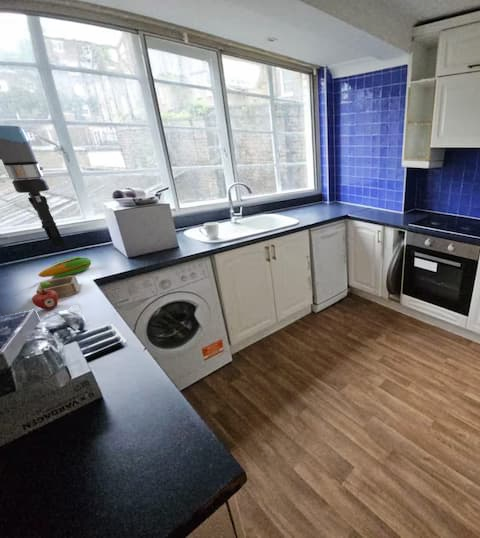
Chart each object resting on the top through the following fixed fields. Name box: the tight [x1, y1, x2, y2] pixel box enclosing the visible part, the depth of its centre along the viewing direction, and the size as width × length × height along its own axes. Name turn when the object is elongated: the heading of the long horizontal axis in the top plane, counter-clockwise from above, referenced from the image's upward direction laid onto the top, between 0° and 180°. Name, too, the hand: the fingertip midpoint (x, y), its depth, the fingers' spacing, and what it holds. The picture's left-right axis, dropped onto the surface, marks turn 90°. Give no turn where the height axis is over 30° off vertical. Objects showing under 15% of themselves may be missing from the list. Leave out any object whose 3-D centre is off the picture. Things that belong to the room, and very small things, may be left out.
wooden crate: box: [35, 274, 80, 299], centre depth 125 cm, size 11×11×5 cm
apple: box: [31, 281, 59, 311], centre depth 112 cm, size 8×7×10 cm
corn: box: [38, 256, 92, 279], centre depth 143 cm, size 7×8×20 cm
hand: (56, 241), depth 103 cm, fingers open, 13 cm apart
